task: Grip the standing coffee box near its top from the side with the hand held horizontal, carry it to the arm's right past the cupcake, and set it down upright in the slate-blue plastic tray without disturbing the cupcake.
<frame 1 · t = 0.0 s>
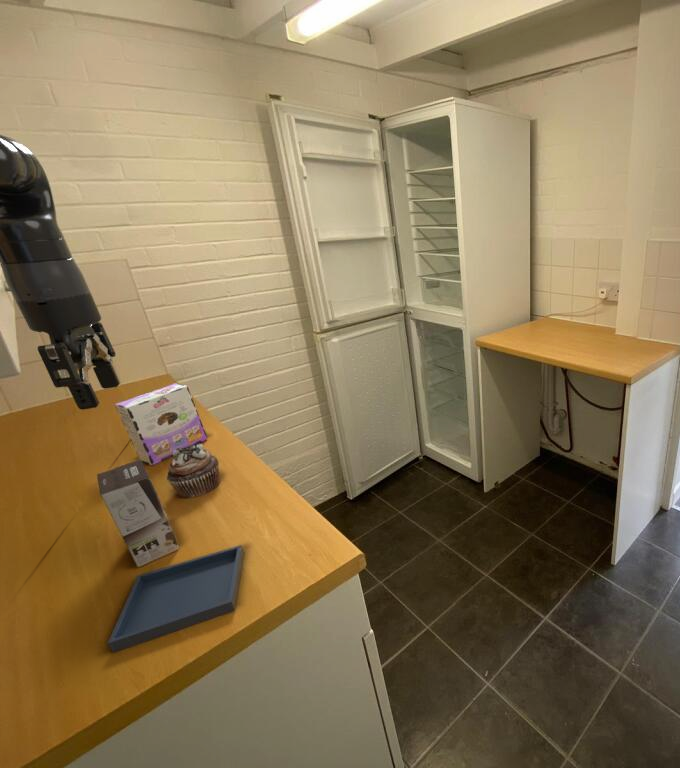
hand: (101, 396, 65), 32 cm above the kitchen counter, tool pointing down, fingers open, 8 cm apart
tray: (186, 596, 68), on the kitchen counter
coffee box: (156, 546, 79), on the kitchen counter
candy box: (175, 450, 111), on the kitchen counter
cupcake: (200, 487, 96), on the kitchen counter
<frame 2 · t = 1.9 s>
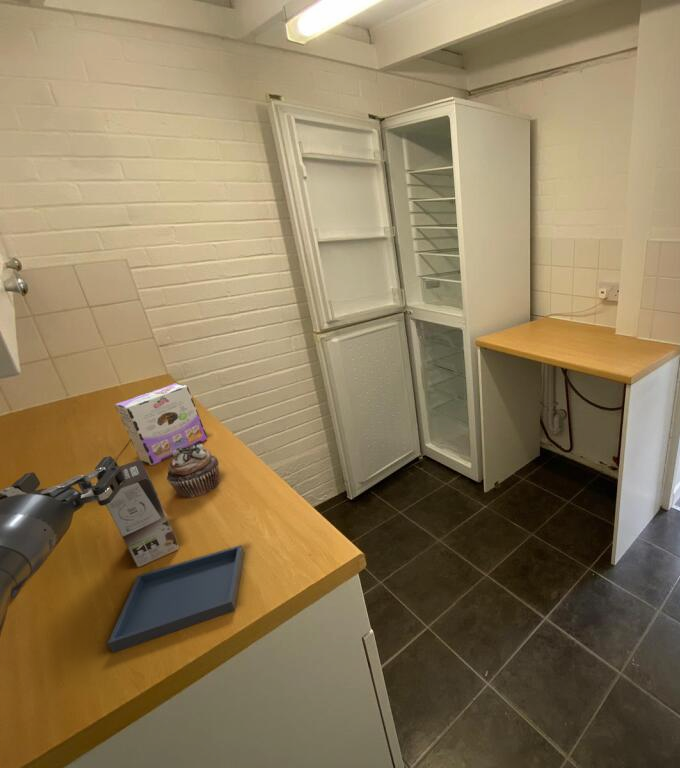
hand: (73, 469, 60), 24 cm above the kitchen counter, tool horizontal, fingers open, 8 cm apart
nothing on the kitchen counter moved.
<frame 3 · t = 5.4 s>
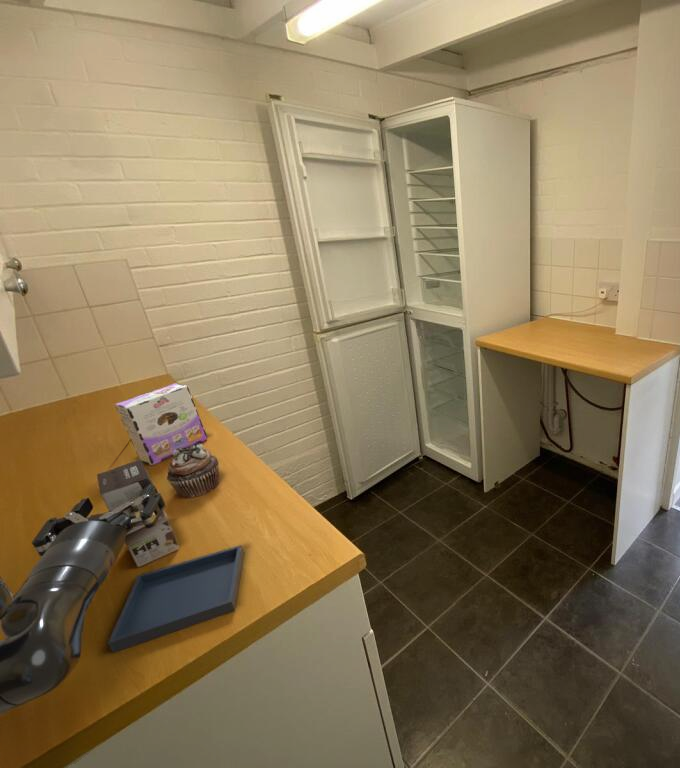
hand: (120, 495, 71), 14 cm above the kitchen counter, tool horizontal, fingers open, 8 cm apart
coffee box: (156, 546, 79), on the kitchen counter, touching gripper
everything else where it was.
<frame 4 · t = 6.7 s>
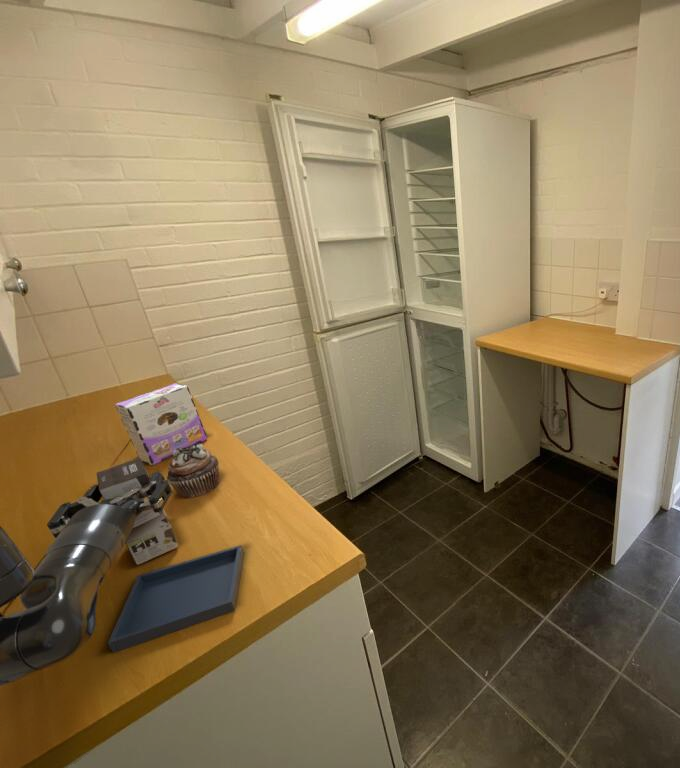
hand: (129, 482, 74), 14 cm above the kitchen counter, tool horizontal, fingers closed on coffee box, 8 cm apart
coffee box: (156, 545, 79), on the kitchen counter, touching gripper
everything else where it was.
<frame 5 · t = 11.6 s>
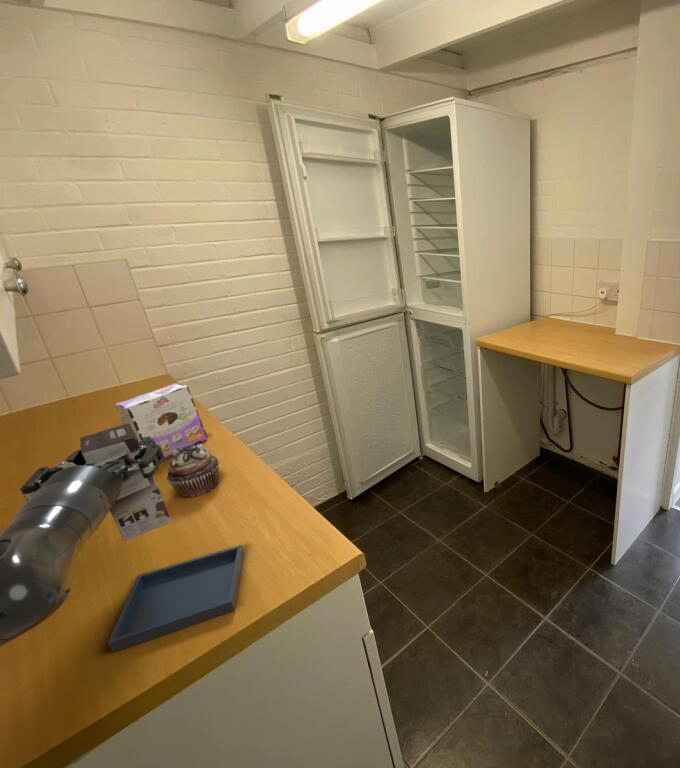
hand: (116, 448, 66), 24 cm above the kitchen counter, tool horizontal, fingers closed on coffee box, 8 cm apart
coffee box: (146, 521, 71), point 10 cm above the kitchen counter, touching gripper
everything else where it was.
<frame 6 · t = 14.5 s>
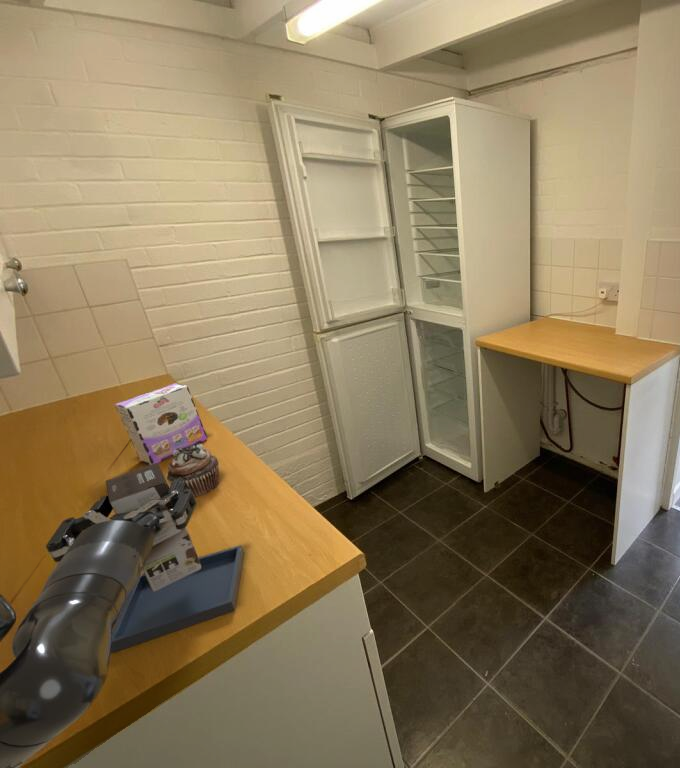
hand: (144, 492, 62), 20 cm above the kitchen counter, tool horizontal, fingers closed on coffee box, 8 cm apart
coffee box: (174, 566, 67), point 6 cm above the kitchen counter, touching gripper
everything else where it was.
when the fingers open (16 cm above the kitchen counter, at t = 16.9 s): coffee box drops 2 cm, resting on tray.
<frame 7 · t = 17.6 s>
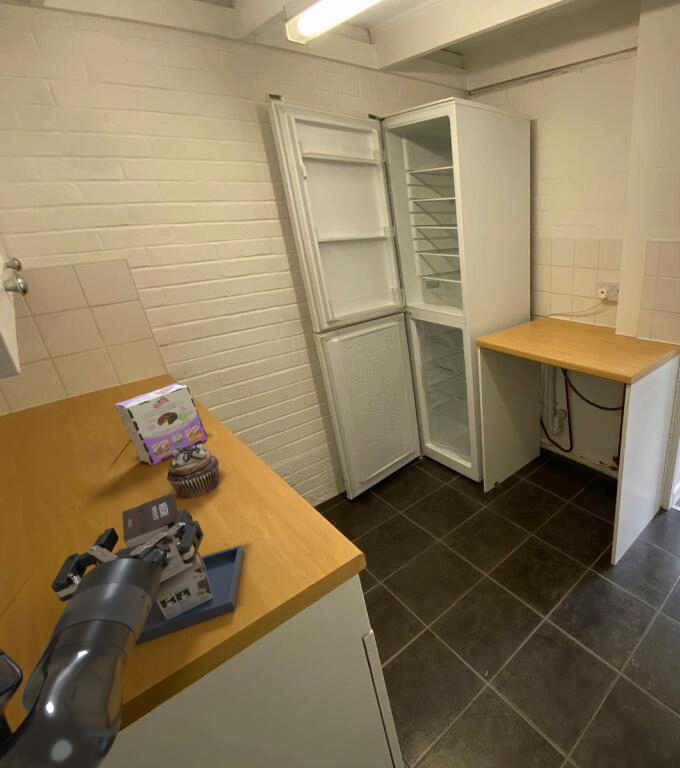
hand: (149, 523, 61), 16 cm above the kitchen counter, tool horizontal, fingers open, 8 cm apart
coffee box: (188, 592, 69), resting on tray
everything else where it was.
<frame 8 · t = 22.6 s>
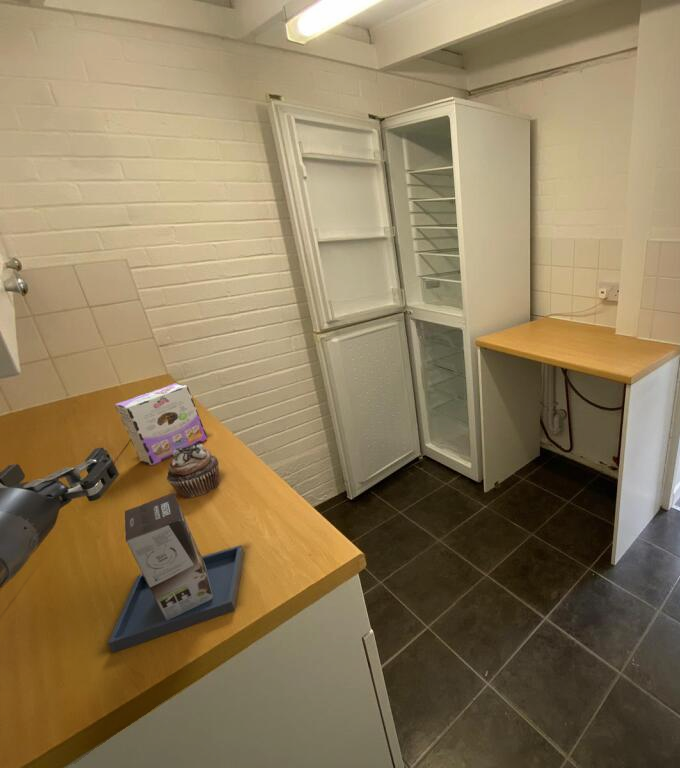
hand: (61, 461, 55), 28 cm above the kitchen counter, tool horizontal, fingers open, 8 cm apart
nothing on the kitchen counter moved.
at the end: coffee box inside the target area in the tray (0.5 cm from its centre), point 0.3 cm above the tray's base; coffee box tilted 0°; cupcake moved 0.2 cm from its start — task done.
